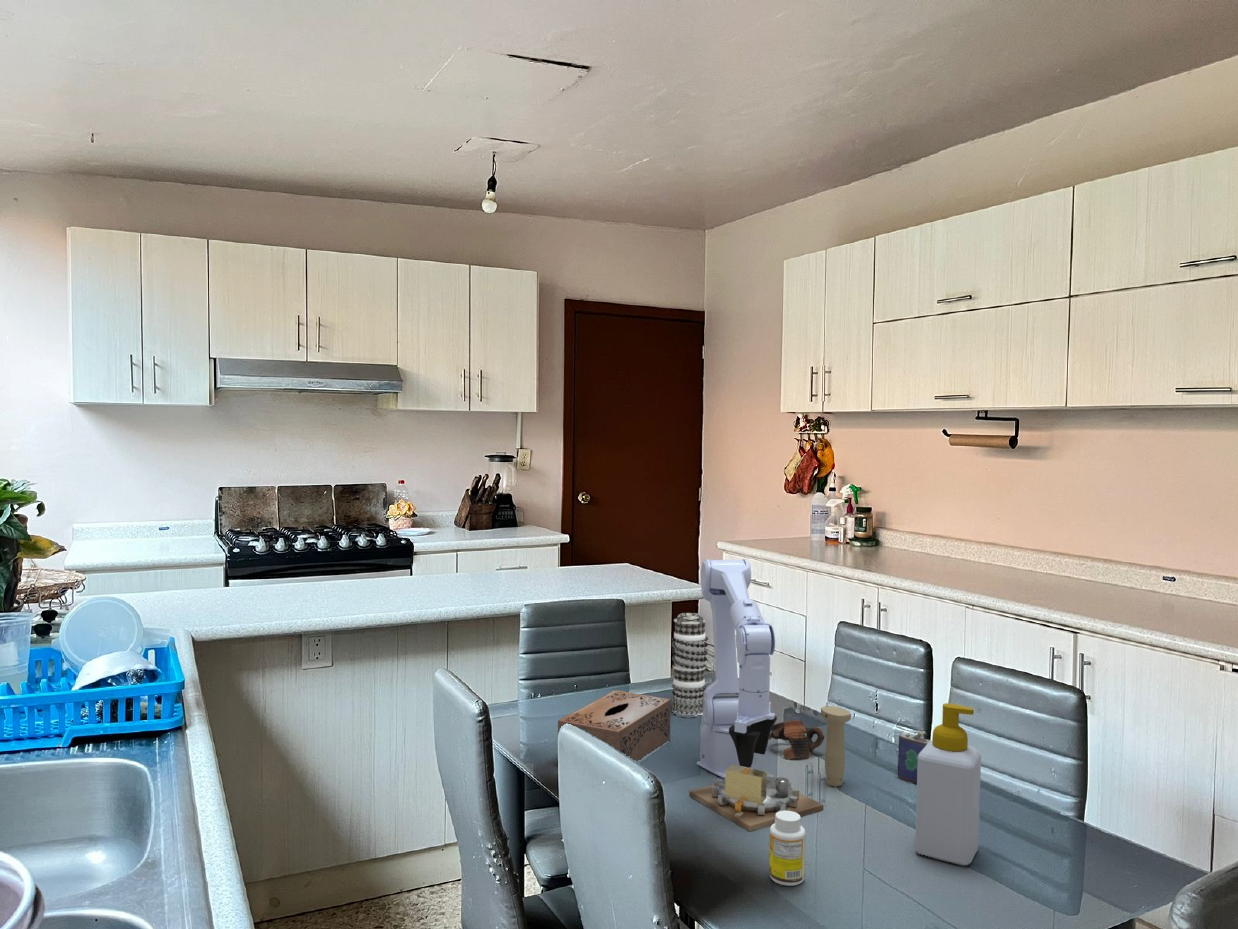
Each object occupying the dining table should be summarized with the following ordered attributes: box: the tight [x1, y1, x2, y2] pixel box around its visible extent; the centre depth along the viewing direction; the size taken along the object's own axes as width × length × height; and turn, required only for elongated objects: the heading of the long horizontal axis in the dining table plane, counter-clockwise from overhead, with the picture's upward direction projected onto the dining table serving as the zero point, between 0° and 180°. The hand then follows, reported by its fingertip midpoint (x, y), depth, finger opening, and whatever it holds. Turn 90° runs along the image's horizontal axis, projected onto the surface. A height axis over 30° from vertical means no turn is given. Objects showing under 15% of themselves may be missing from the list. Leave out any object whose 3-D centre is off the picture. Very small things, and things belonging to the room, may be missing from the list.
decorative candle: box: [671, 612, 709, 716], centre depth 226 cm, size 9×9×25 cm
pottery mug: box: [768, 720, 825, 760], centre depth 200 cm, size 12×10×8 cm
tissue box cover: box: [557, 689, 672, 761], centre depth 197 cm, size 26×14×10 cm, turn 152°
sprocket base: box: [688, 784, 824, 832], centre depth 172 cm, size 18×18×1 cm
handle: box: [820, 705, 852, 788], centre depth 181 cm, size 5×6×15 cm
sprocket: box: [712, 773, 800, 815], centre depth 172 cm, size 16×16×4 cm
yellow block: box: [724, 765, 768, 804], centre depth 167 cm, size 7×3×5 cm, turn 62°
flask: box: [897, 730, 932, 785], centre depth 183 cm, size 9×3×11 cm, turn 50°
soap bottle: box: [914, 702, 982, 866], centre depth 152 cm, size 9×9×25 cm
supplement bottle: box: [769, 811, 806, 887], centre depth 142 cm, size 6×6×10 cm
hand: (752, 759), depth 169 cm, fingers open, 7 cm apart
